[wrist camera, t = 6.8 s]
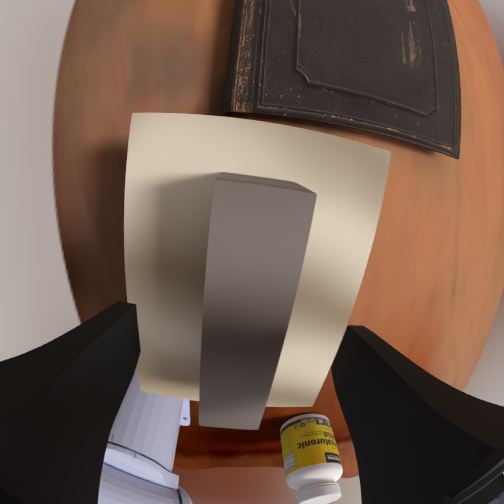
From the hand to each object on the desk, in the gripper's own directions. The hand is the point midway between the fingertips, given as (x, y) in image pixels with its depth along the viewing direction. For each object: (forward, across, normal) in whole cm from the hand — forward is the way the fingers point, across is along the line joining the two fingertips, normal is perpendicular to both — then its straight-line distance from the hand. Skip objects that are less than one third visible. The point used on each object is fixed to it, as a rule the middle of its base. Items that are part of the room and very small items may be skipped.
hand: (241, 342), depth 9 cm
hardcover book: (+10, -5, -20) cm, 23 cm away
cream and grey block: (+4, 0, 0) cm, 4 cm away
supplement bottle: (+9, -9, +19) cm, 23 cm away
